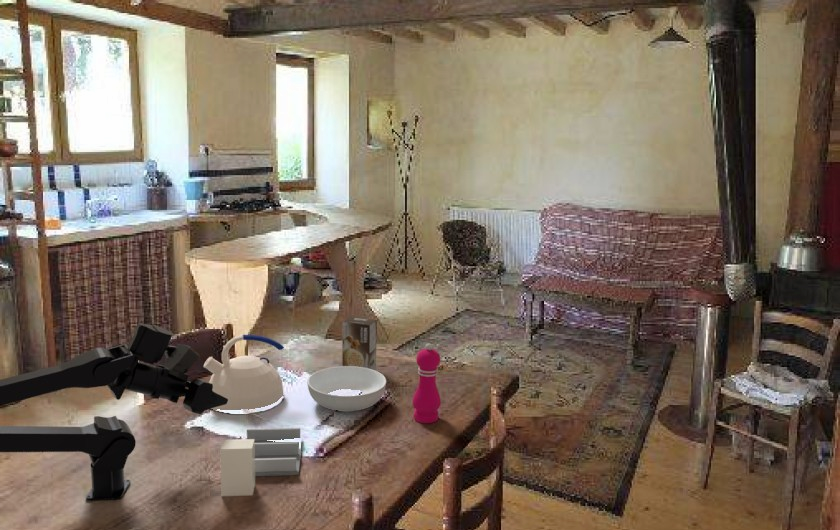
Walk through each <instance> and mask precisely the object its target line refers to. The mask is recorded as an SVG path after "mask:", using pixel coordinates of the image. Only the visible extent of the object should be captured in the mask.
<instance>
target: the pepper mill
mask: <svg viewBox="0 0 840 530" xmlns="http://www.w3.org/2000/svg"><path fill="white" fill-rule="evenodd" d="M416 364H417V365H418V367H417V370H418V371H417V374H418V376H419V379H418V380H419V381H418V382H419V383H418V385H417V389H416V390H415V392H414V393H413V397H412V406H413V408H414V411H413V419H414V420H415V421H416V422H417V423H421V424H433V423H435V422H437V421H438V419H439V409H440V407H441V404H442V401H441V396H440V392H439V390H438V387H437V382H436V378H437V375H438V373H439V372H438V371H439V369H438V366H439V365H440V364H441V356H440V353H439V352H438V351H437V350H436V349H433V345H432V344H431V343H429V342H428V343H426V344H425V347H424V349H421V350H420V351H418V352H417V355H416Z"/></svg>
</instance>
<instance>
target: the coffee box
mask: <svg viewBox="0 0 840 530" xmlns="http://www.w3.org/2000/svg"><path fill="white" fill-rule="evenodd" d="M377 324H378V320H377V319H370V318H363V317H354V316H349V317H347V318H346V319H344V320H343V322H342V329H341V330H342V336H341V337H342V341H341V342H342V343H341V344H342V348H341V349H342V358H341V359H342V364H341V366H356V367H364V368H368V369H372V370H375V371H377V326H378V325H377Z"/></svg>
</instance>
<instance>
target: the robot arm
mask: <svg viewBox="0 0 840 530" xmlns="http://www.w3.org/2000/svg"><path fill="white" fill-rule="evenodd" d="M134 329H135V330H134V332H133V335H132V337H131V339H130V341H129V343H128V344H126V343H124V344H123V343H122V344H119V345H117V346H113V347H110V348H104V347H96V348H92V349H90V350H88V351H85V352H83V353H80V354H78V355H75V356H74V357H72V358H71V359H69V360H68V361H66V362H64V363H61V364H59V365H53V366H49V367H45V368H43V369H37V370H34V371H30V372H25V373H22V374H18V375H17V374H16V375H14V376H10V377H6V378H2V379H0V407H1V406H5V405H9V404H12V403H16V402H20V401H25V400H27V399H31V398H36V397H39V396H42V395H47V394H50V393H53V392H57V391H62V390H66V389H75V388H76V389H77V388H78V389H90V388H99V387H106V386H107V388H108V389H109V390H110V393H111V394H112V396H113V397H114V398H115V399H116V400H117V401H119V400H120V399H122V396H123V393H124V392H125V390H126V391H129V392H133V393H138V394H141V395H147V396H150V397H151V398H153V399H157V400H159V399H163V400H168V401H169V402H171V403H175V404H177V403H178V401H179V399H180V398H182V397H184V399H183V401H182V405H183V407H184V408H185V410H188V411H189V412H191V413H193V414H198V415H202V414H204V412H205V411H208V410H212V409H211V408H214V407H218V406H222V405H225V404H227V402H228V399H227V398H225V397H223V396H221V395H219V394H217V393H215V392H213V390H212V389H213V384H211V383H209V381H206V380H203V379H201V378H194V379H193V380H189V377H190V374H188V373H187V372H188V371H189V370H191V368H192V366H193V365H194V363H196V362H198V360H199V359H200V357H201V356H200V354H199V353H198V352H196V351H195V349H194V350H193V348H192V347H191V346H189V345H187V344H184V343H180V344H179V343H177V344H175V345H176V346H175V345H169V344H170V342H171V340H172V338H173V335H174V333H173V332H171V331H170V330H168V329H166V328H164V327H162V326H159V325H155V324H148V323H141V322H138V323H137V324H136V326H135V328H134ZM164 356H165V358H164V360H165V362H164V363H163V364H158V362H160V361H162V359H163V357H164ZM153 364H154V365H153ZM155 364H156V365H155ZM135 447H136V439H135V436H134V434H133V432H132V430H131V428H130V426H129V425H128V423H127V422H126V421H124V420H122V419H120V418H119V419H118V417H117V415H113V416H110V417H105V416H99V415H97V416H96V415H94V417H93V423H90V424H88V425H87V424H86V425H84V426H42V425H41V426H38V425H35V426H31V425H28V426H27V425H25V426H24V425H23V426H22V425H0V453H2V454H3V453H83V454H87V455H88V456H89V459H90V461H91V463H90V475H91V489H90V490H89V492H88V493H87V494H86V495H85V501H97V500H120V499H122V497H123V496H124V495H125V493H126V491H127V490H128V487H129V486H130V484H131V479H125V471H124V468H125V465H126V463H127V460H128V457H129V456H130V455H131V454H132V453H133V451H134V450H135Z"/></svg>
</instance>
